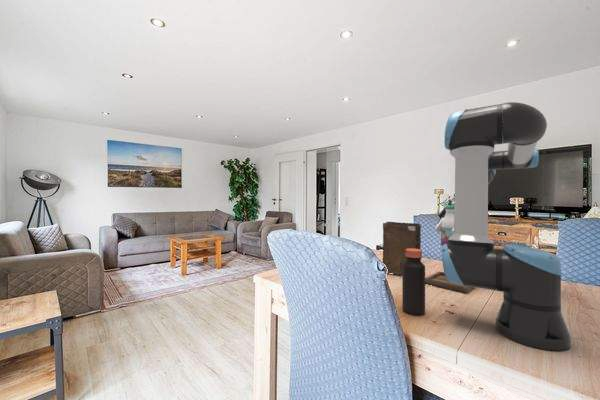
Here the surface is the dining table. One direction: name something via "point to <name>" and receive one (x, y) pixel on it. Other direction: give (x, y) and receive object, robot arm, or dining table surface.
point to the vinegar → (413, 283)
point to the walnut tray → (446, 283)
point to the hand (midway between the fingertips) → (445, 231)
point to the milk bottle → (447, 225)
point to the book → (399, 243)
